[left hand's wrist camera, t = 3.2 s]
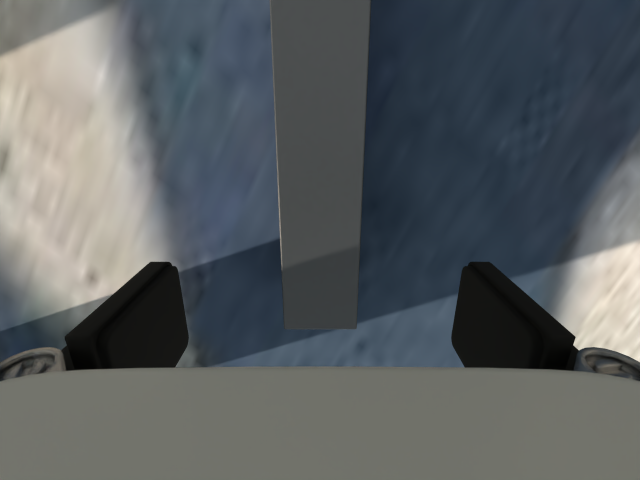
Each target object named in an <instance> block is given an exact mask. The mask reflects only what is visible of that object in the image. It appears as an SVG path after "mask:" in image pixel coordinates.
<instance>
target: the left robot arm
mask: <svg viewBox="0 0 640 480" xmlns="http://www.w3.org/2000/svg"><path fill="white" fill-rule="evenodd" d="M188 338H189V337H188V330H187V323H186V317H185V311H184V305H183V299H182V293H181V287H180V280H179V274H178V269H177V267H175V266H172V264H171V263H170V262H150V263H149V264H147V265H146V266H145V267H144V268H143V269H142V270H141V271H139V272H138V273H137V274H136V275H135V276H134V277H133V278H131V279H130V280H129V281H128V282H127V283H126V284H125V285H123V286H122V287H121V288H120V289H119V290H118V291H117V292H115V293H114V294H113V295H112V296H111V297H110V298H108V299H107V300H106V301H105V302H104V303H103V304H102V305H100V306H99V307H98V308H97V309H96V310H95V311H94V312H92V313H91V314H90V315H89V316H88V317H87V318H86V319H84V320H83V321H82V322H81V323H80V324H79V325H78V326H76V327H75V328H74V329H73V330H72V331H71V332H70V333H68V334H67V335H66V336H65V340H66V344H67V346H66V347H65V348H63V349H62V350H59V349H56V348H49V347H44V348H36V349H32V350H28V351H25V352H22V353H19V354H17V355H14V356H11V357H9V358H8V359H6V360H4V361H2V362H0V480H640V362H638V361H636V360H634V359H632V358H631V357H629V356H626V355H623V354H621V353H618V352H615V351H612V350H608V349H604V348H596V347H591V348H584V349H581V350H578V349H577V348H575V347H574V346H573V344H574V340H575V336H574V335H573V334H572V333H570V332H569V331H568V330H567V329H566V328H565V327H564V326H562V325H561V324H560V323H559V322H558V321H557V320H556V319H554V318H553V317H552V316H551V315H550V314H549V313H548V312H546V311H545V310H544V309H543V308H542V307H541V306H540V305H538V304H537V303H536V302H535V301H534V300H533V299H532V298H530V297H529V296H528V295H527V294H526V293H525V292H523V291H522V290H521V289H520V288H519V287H518V286H517V285H515V284H514V283H513V282H512V281H511V280H510V279H509V278H507V277H506V276H505V275H504V274H503V273H502V272H501V271H499V270H498V269H497V268H496V267H495V266H494V265H493V264H491V263H490V262H470V263H469V264H468V266H465V267H463V269H462V274H461V280H460V287H459V293H458V299H457V305H456V311H455V317H454V323H453V330H452V337H451V338H452V345H453V347H454V349H455V351H456V353H457V354H458V356H459V358H460V360H461V361H462V363H463V365H464V367H465V368H451V367H191V368H175V367H176V365H177V363H178V361H179V360H180V358H181V356H182V354H183V353H184V351H185V349H186V347H187V345H188Z"/></svg>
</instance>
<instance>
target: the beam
mask: <svg viewBox="0 0 640 480" xmlns="http://www.w3.org/2000/svg"><path fill="white" fill-rule="evenodd" d="M370 15H371V0H270V17H271V40H272V63H273V86H274V108H275V131H276V154H277V177H278V199H279V222H280V245H281V268H282V290H283V313H284V329H356V328H357V305H358V283H359V261H360V238H361V216H362V194H363V171H364V149H365V127H366V104H367V82H368V60H369V37H370Z"/></svg>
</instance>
